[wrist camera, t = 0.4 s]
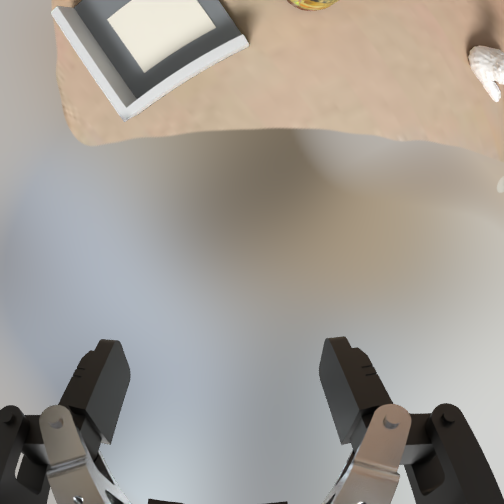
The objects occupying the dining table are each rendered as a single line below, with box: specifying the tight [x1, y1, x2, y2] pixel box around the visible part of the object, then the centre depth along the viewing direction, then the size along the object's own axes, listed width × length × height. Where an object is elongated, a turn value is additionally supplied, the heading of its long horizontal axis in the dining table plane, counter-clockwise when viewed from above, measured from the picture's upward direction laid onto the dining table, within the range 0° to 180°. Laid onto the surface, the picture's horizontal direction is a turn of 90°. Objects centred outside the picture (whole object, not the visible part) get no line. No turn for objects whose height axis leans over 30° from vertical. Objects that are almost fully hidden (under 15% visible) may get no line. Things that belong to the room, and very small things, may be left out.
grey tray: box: [51, 0, 249, 122], centre depth 21 cm, size 20×16×5 cm
